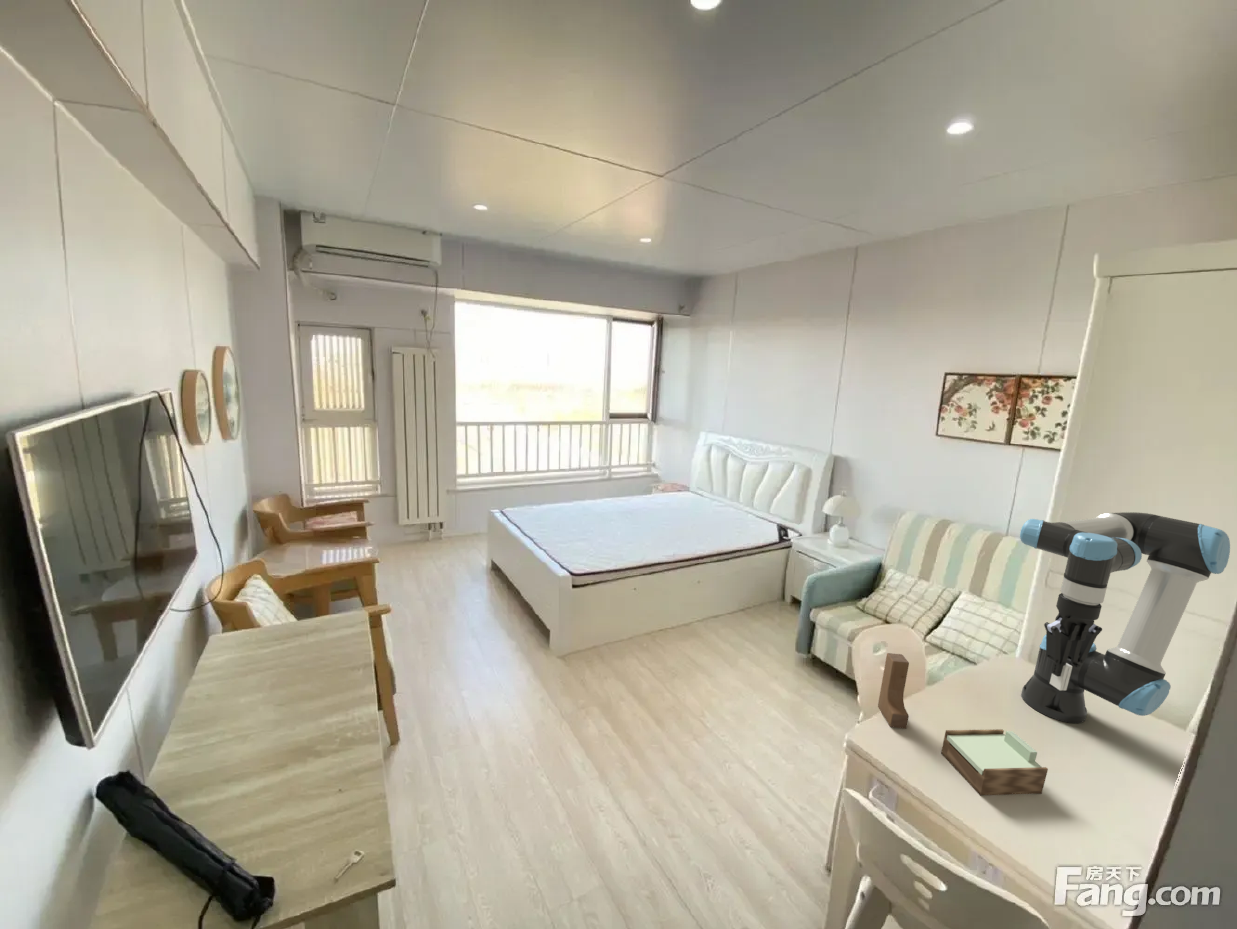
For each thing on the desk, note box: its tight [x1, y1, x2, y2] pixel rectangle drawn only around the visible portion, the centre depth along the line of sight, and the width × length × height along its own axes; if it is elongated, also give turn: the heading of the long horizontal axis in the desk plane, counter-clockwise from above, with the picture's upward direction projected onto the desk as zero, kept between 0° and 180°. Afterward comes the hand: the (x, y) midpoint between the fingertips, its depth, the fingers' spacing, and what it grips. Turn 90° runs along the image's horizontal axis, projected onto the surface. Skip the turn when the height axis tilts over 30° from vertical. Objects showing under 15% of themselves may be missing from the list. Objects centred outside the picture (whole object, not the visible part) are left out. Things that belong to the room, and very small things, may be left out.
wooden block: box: [877, 652, 910, 730], centre depth 141 cm, size 9×4×18 cm, turn 174°
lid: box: [947, 730, 1042, 775], centre depth 123 cm, size 16×11×4 cm
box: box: [940, 728, 1049, 796], centre depth 124 cm, size 16×13×7 cm
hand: (1057, 686), depth 121 cm, fingers closed
